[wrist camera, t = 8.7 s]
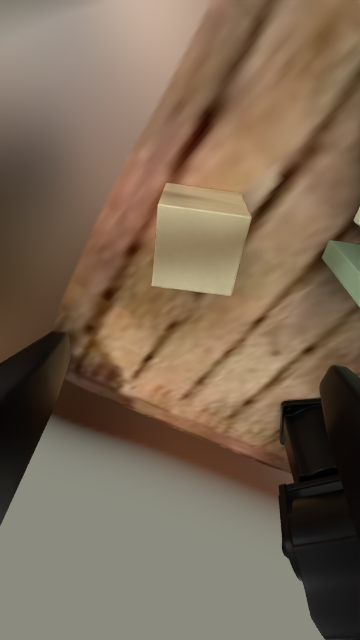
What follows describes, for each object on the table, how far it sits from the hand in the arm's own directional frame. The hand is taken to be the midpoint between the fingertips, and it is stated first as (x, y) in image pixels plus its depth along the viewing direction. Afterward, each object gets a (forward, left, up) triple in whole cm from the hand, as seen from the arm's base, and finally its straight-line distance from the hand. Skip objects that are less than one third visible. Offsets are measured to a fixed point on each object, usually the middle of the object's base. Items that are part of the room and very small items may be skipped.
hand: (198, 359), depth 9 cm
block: (0, 0, -12) cm, 12 cm away
